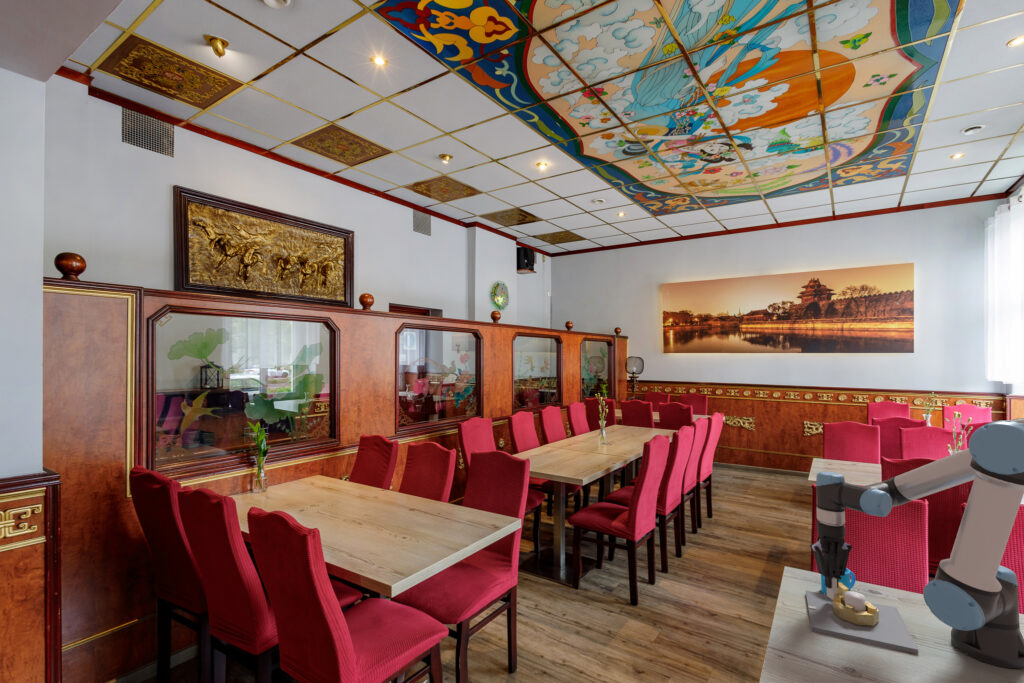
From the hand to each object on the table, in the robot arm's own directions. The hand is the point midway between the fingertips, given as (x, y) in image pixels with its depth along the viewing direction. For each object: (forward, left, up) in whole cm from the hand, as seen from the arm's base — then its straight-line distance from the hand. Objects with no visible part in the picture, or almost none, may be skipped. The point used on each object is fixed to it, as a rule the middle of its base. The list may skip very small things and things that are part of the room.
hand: (831, 597), depth 151 cm
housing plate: (-5, +6, -3) cm, 8 cm away
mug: (-4, -13, -3) cm, 14 cm away
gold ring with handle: (-5, +4, -2) cm, 6 cm away
